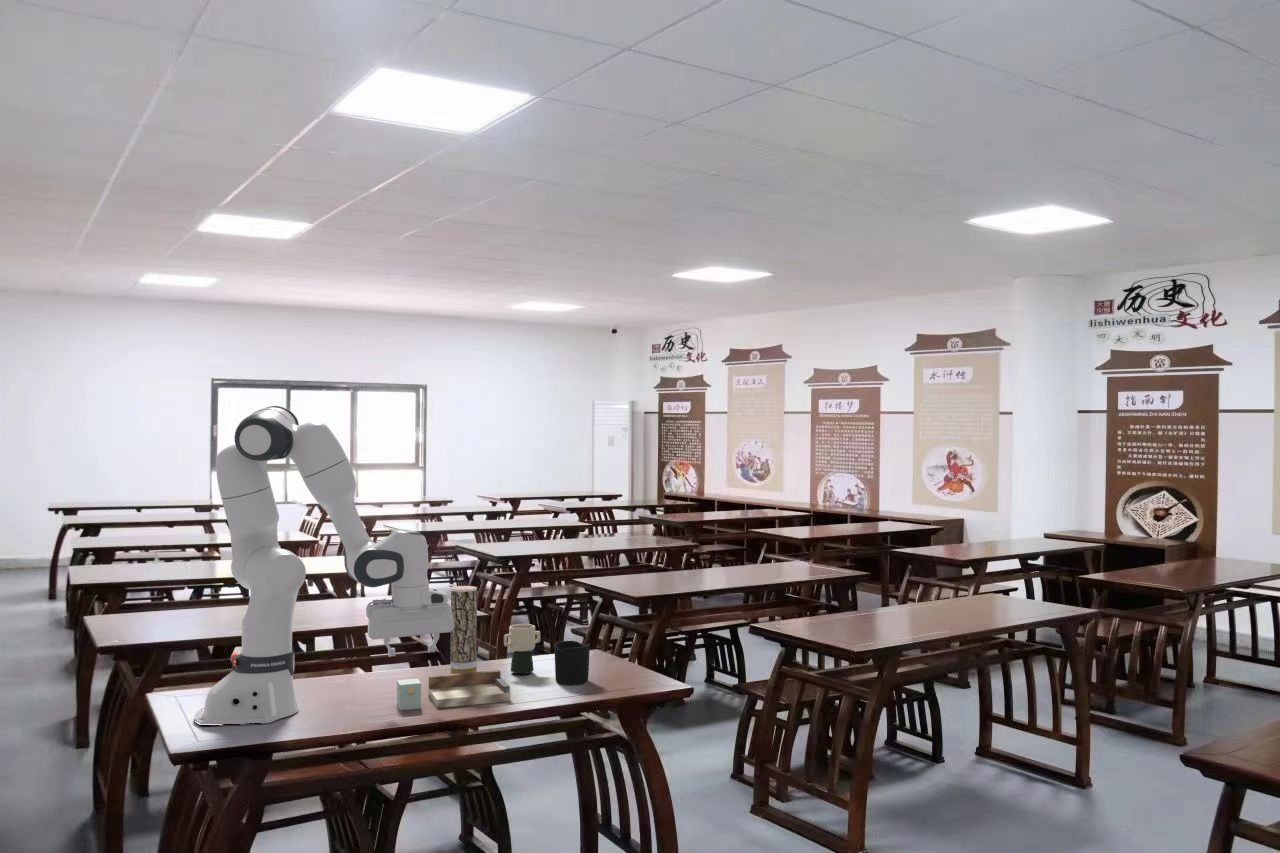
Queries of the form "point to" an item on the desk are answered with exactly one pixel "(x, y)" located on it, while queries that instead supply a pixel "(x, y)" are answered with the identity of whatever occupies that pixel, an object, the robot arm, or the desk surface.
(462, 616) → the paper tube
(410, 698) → the mint green box
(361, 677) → the desk surface
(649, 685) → the desk surface
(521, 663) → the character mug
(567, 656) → the pen holder
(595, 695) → the desk surface
